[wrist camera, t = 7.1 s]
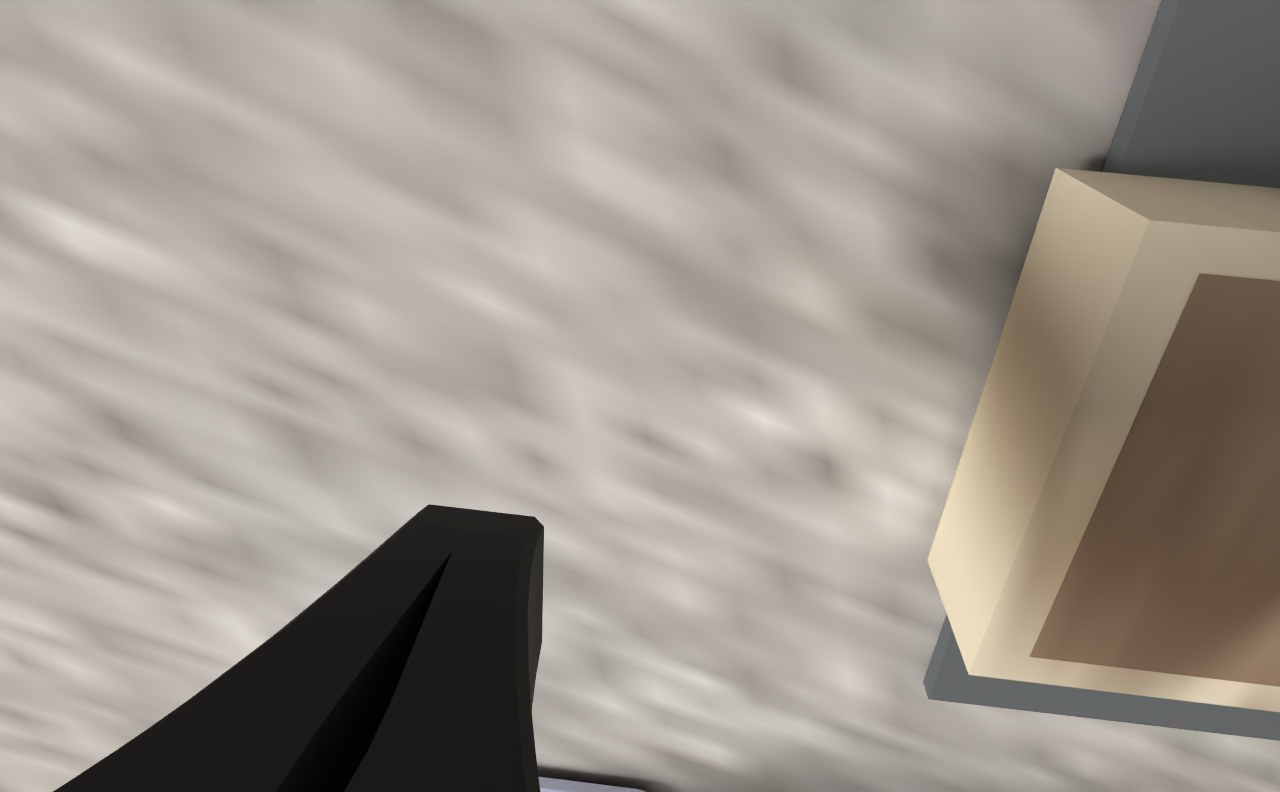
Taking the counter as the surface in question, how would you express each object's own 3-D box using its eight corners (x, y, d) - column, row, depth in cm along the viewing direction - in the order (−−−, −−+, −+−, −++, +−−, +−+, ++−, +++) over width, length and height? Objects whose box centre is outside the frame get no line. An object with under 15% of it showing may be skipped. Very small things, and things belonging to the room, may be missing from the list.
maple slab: (927, 559, 16) (1351, 608, 16) (969, 675, 13) (1481, 737, 13) (1055, 167, 12) (1623, 219, 12) (1150, 220, 9) (1888, 289, 9)
